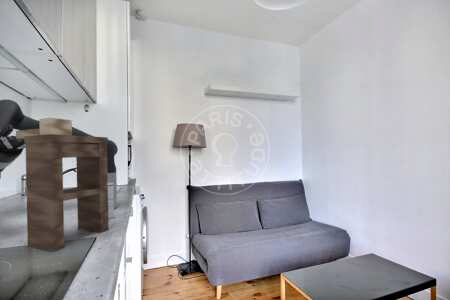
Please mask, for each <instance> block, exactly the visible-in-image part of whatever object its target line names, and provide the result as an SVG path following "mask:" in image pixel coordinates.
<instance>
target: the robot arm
mask: <svg viewBox="0 0 450 300" xmlns="http://www.w3.org/2000/svg"><path fill="white" fill-rule="evenodd" d="M30 129H40V122H39V120H38V119H34V118H32V117H29V116H27V115H25V114H24V112H23V111H22V108H21V106H20V104H18V102H16V101H15V100H12V99H0V179H1V177H2V176H1V174H2V172H3V171H4V170H5V169H6V168H7V167H8V166H10V165H11V164H12V163H13V162H15V161H16V159H17V158H19V156H21V155H22V153H23V150H24V149H26V143H24V139H16V135H11V134H12V133H13V132H14V130H15V131H19V130H30ZM72 135H74V136H92V137H96V136H94V135H92V134H88V133H87V132H85V131H83V130H81V129H79V128H76V127H74V126H72ZM118 150H119V149H118V145H117V144H116V143H115V142H114V141H112V140H111V139H108V143H107V178H108V183H113V197H114V210H115V209H117V208H118V194H117V193H118V188H117V187H118V186H117V183H118V182H117V180H118V179H117V166H116V163H115V156H116V155H117V153H118Z"/></svg>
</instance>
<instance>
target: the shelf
mask: <svg viewBox="0 0 450 300" xmlns="http://www.w3.org/2000/svg"><path fill="white" fill-rule="evenodd" d="M92 136H93V135H92ZM92 136H74V135H57V134H48V135H34V136H24V143H26V148H25V176H26V180H25V181H26V182H25V186H26V227H27V228H26V229H27V248H32V249H35V250H41V251H46V252H51V253H55V252H56V251H59V250H62V249H64V248H65V224H64V223H65V217H64V214H65V213H64V212H65V211H64V202H65V201H70V200H74V199H75V200H77V201H76V202H77V204H76V205H77V230H80V231H88V232H93V233H99V234H101V233H104V232H106V231H109V230H110V228H109V219H108V178H107V143H108V140H109V137H106V136H95V137H92ZM66 158H67V159H68V158H76V159H75V160H76V187H70V188H64V179H63V178H64V177H63V176H64V175H63V172H64V171H63V170H64V169H63V163H64V162H63V159H66Z"/></svg>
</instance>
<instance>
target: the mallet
mask: <svg viewBox="0 0 450 300" xmlns="http://www.w3.org/2000/svg"><path fill="white" fill-rule="evenodd" d="M38 121H39V122H40V129H30V130H15V136H16V139H24V136H34V135H48V134H57V135H72V127H73V121H72V120H71V119H65V118H54V117H46V118H39V120H38Z"/></svg>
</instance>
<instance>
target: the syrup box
mask: <svg viewBox="0 0 450 300" xmlns="http://www.w3.org/2000/svg"><path fill="white" fill-rule="evenodd" d="M114 210H115V209H114V197H113V183H108V220H110V219H113V218H114V217H115V216H114V215H115V214H114V213H115V212H114Z"/></svg>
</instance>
